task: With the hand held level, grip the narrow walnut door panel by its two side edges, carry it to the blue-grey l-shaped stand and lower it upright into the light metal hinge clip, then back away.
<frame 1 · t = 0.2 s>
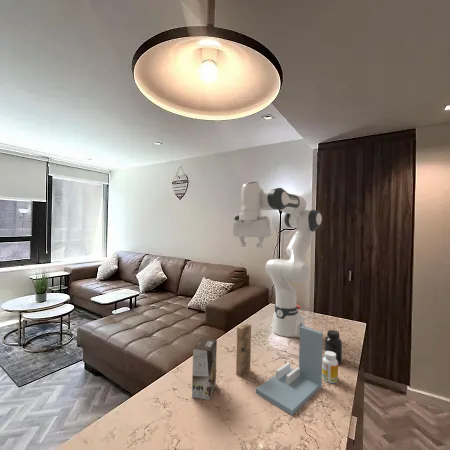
hand: (251, 246, 116), 48 cm above the counter, tool pointing down, fingers open, 8 cm apart
blue-grey l-shaped stand: (289, 389, 88), on the counter
supplement bottle: (333, 360, 109), on the counter
coffee box: (204, 390, 87), on the counter
supplement bottle 2: (329, 379, 95), on the counter
door panel: (243, 372, 98), on the counter
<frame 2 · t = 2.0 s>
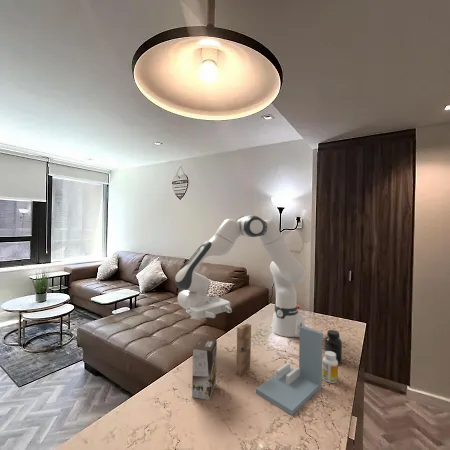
hand: (222, 313, 107), 20 cm above the counter, tool horizontal, fingers open, 8 cm apart
nothing on the counter moved.
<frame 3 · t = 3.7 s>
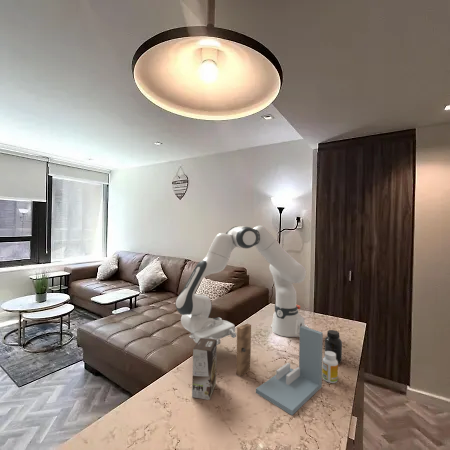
hand: (227, 338, 105), 10 cm above the counter, tool horizontal, fingers open, 8 cm apart
nothing on the counter moved.
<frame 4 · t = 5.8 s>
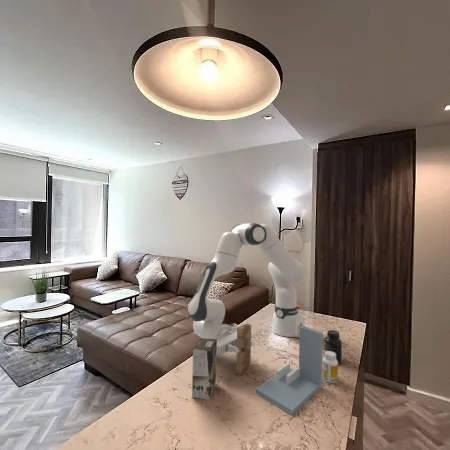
hand: (245, 347, 98), 10 cm above the counter, tool horizontal, fingers closed on door panel, 6 cm apart
door panel: (243, 372, 98), on the counter, touching gripper
everything else where it was.
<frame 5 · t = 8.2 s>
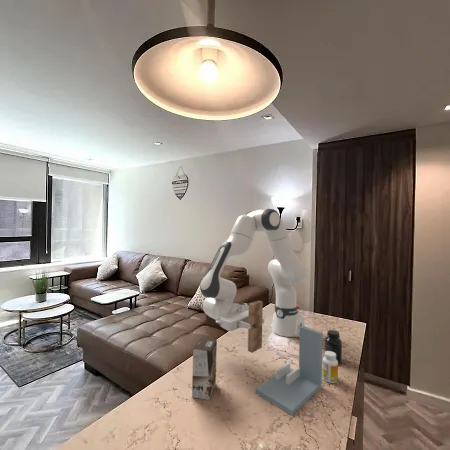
hand: (257, 323, 96), 20 cm above the counter, tool horizontal, fingers closed on door panel, 6 cm apart
door panel: (255, 349, 97), point 10 cm above the counter, touching gripper
everything else where it was.
when the fingers open (12 cm above the counter, at t = 10.7 s): door panel stays where it is, resting on blue-grey l-shaped stand.
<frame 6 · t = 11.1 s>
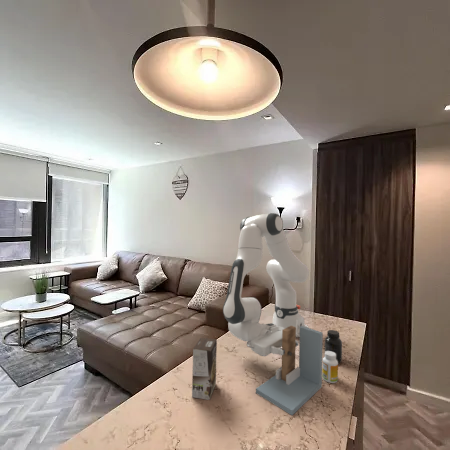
hand: (290, 348, 92), 12 cm above the counter, tool horizontal, fingers open, 8 cm apart
door panel: (288, 377, 93), point 2 cm above the counter, touching blue-grey l-shaped stand
everything else where it was.
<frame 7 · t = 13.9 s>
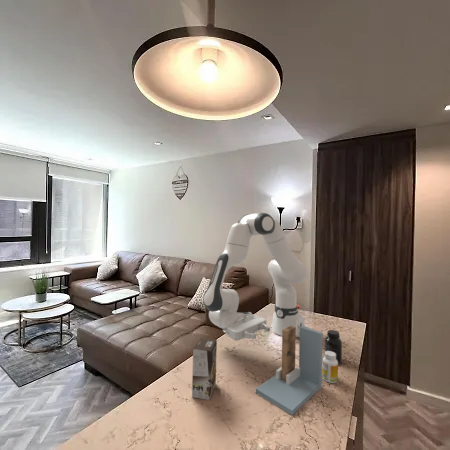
hand: (262, 333, 102), 14 cm above the counter, tool horizontal, fingers open, 8 cm apart
nothing on the counter moved.
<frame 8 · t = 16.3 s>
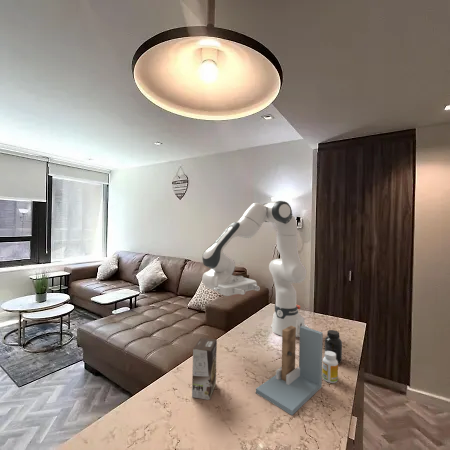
hand: (251, 290, 106), 30 cm above the counter, tool horizontal, fingers open, 8 cm apart
nothing on the counter moved.
at the end: door panel 0.0 cm from the target spot on the blue-grey l-shaped stand, point 1.5 cm above the blue-grey l-shaped stand's base; door panel tilted 0°; the gripper is holding nothing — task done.
